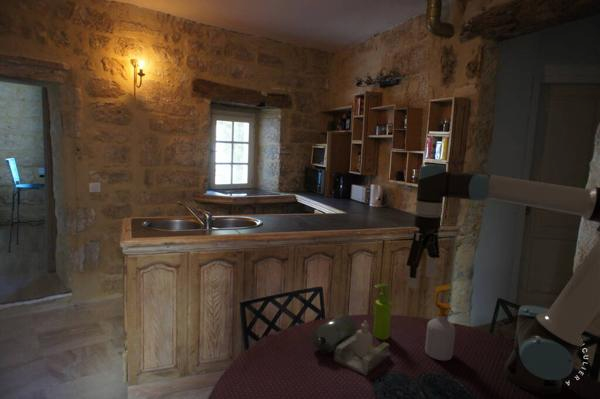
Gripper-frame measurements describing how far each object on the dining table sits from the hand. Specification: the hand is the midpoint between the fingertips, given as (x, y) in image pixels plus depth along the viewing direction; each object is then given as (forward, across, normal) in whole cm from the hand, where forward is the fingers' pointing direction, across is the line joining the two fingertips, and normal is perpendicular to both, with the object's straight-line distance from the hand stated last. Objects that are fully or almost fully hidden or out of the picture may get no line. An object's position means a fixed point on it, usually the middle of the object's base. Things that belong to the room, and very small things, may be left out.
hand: (421, 282), depth 116 cm
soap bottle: (+29, -14, +3) cm, 32 cm away
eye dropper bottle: (+28, +7, -15) cm, 32 cm away
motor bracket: (+29, +8, -20) cm, 36 cm away
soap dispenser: (+29, -11, -18) cm, 36 cm away
